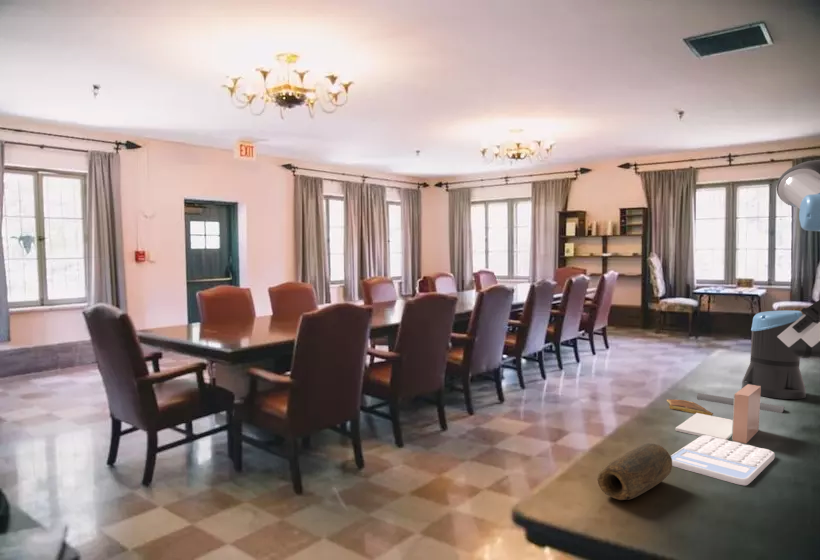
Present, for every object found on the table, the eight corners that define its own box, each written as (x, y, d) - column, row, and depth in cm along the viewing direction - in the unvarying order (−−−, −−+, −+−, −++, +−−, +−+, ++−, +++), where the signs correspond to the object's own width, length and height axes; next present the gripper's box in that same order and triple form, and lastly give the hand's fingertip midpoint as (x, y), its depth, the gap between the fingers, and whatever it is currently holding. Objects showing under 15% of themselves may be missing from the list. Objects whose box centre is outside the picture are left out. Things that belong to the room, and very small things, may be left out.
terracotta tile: (744, 427, 124) (746, 384, 123) (758, 430, 122) (760, 386, 121) (731, 440, 115) (733, 393, 114) (746, 443, 113) (748, 396, 112)
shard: (713, 419, 131) (713, 412, 131) (680, 418, 131) (681, 411, 131) (692, 406, 142) (692, 399, 141) (662, 405, 142) (662, 398, 142)
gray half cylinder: (699, 398, 151) (699, 391, 150) (784, 412, 138) (785, 405, 138) (695, 401, 147) (696, 394, 147) (783, 415, 135) (783, 408, 135)
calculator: (776, 459, 106) (776, 450, 106) (746, 489, 92) (746, 478, 92) (701, 441, 115) (702, 432, 115) (664, 466, 101) (664, 456, 101)
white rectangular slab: (696, 415, 132) (696, 412, 132) (743, 424, 126) (743, 422, 125) (675, 430, 121) (675, 427, 121) (725, 441, 114) (725, 438, 114)
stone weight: (633, 471, 98) (634, 434, 97) (674, 484, 93) (675, 445, 92) (592, 497, 87) (594, 456, 87) (636, 512, 82) (638, 469, 82)
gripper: (893, 273, 91) (788, 356, 102) (923, 284, 106) (829, 355, 117) (853, 244, 95) (756, 326, 106) (887, 259, 111) (800, 329, 122)
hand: (794, 342), depth 112 cm, fingers open, 13 cm apart
